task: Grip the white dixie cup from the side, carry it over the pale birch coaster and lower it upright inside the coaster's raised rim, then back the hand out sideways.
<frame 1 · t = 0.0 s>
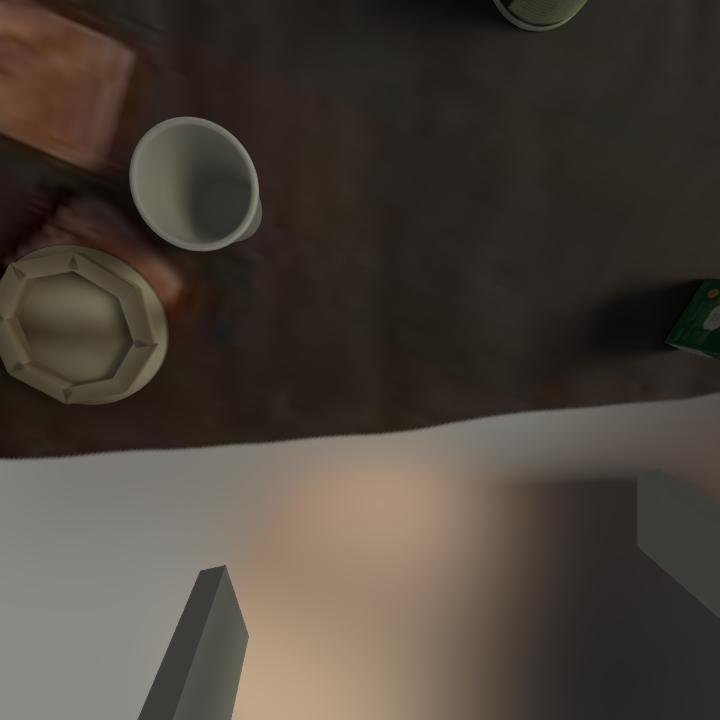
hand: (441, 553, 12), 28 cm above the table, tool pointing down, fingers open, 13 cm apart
coffee box: (688, 316, 41), on the table
dixie cup: (231, 210, 35), on the table
rimmed coaster: (87, 327, 36), on the table
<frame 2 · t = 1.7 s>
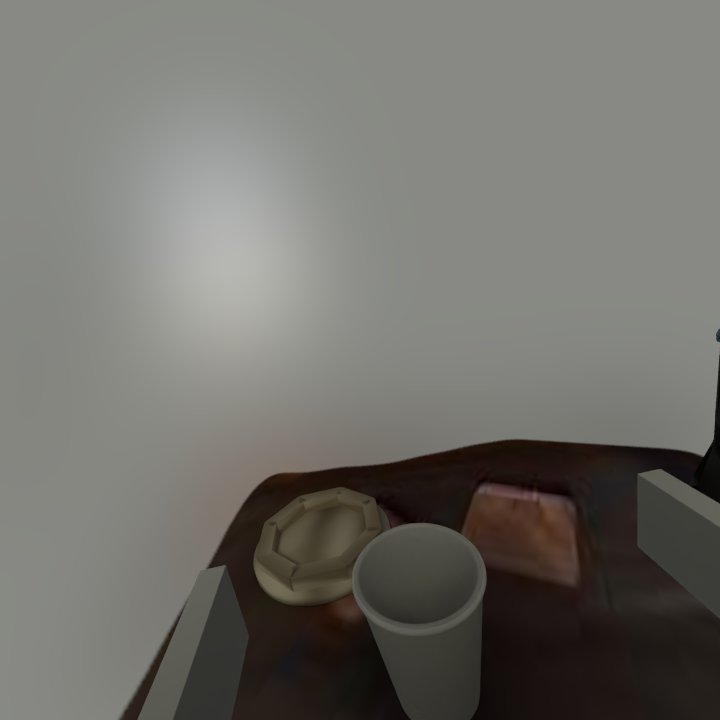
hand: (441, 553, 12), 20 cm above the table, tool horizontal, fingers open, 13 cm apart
dixie cup: (437, 686, 26), on the table
rimmed coaster: (324, 544, 41), on the table
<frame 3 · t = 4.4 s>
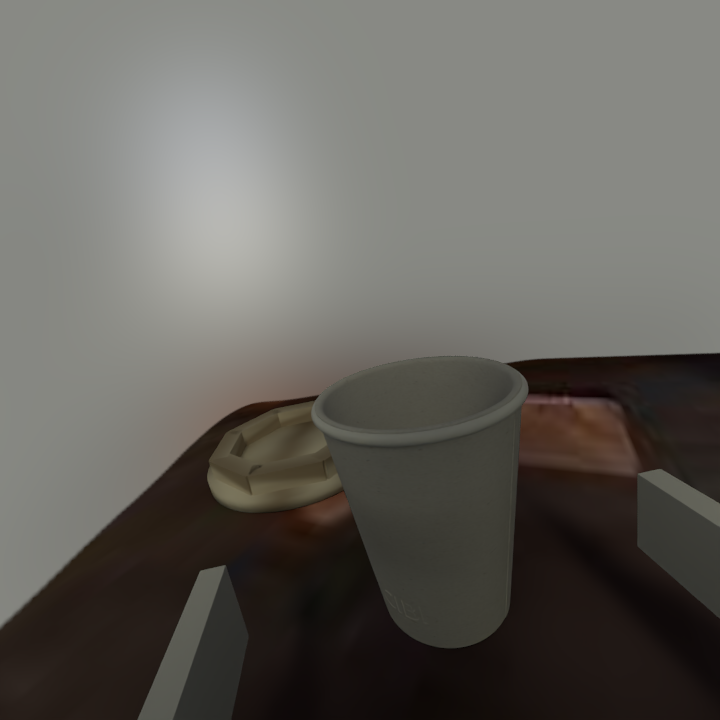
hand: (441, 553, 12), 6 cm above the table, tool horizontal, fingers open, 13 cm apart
dixie cup: (445, 590, 17), on the table
rimmed coaster: (300, 456, 32), on the table
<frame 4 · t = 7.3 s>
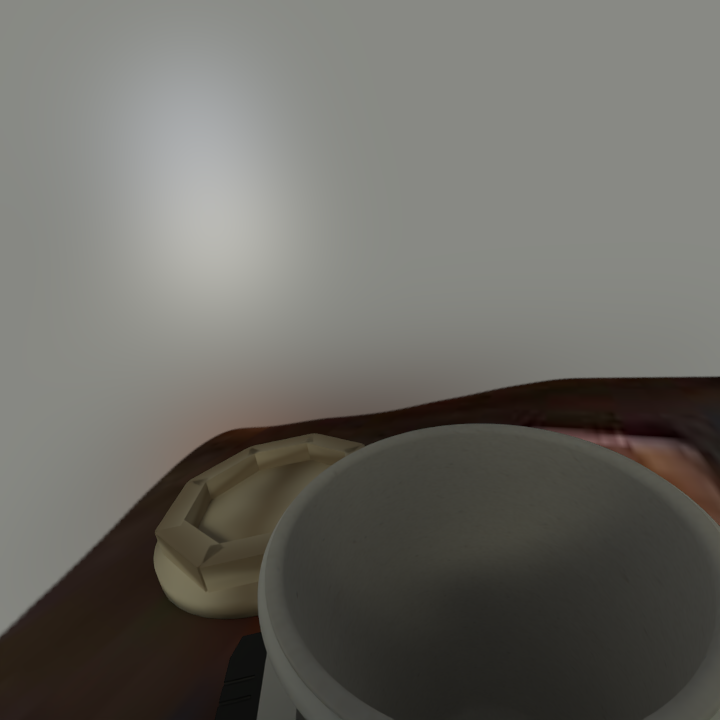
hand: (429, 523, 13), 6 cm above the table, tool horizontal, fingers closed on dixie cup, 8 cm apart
rimmed coaster: (280, 515, 25), on the table
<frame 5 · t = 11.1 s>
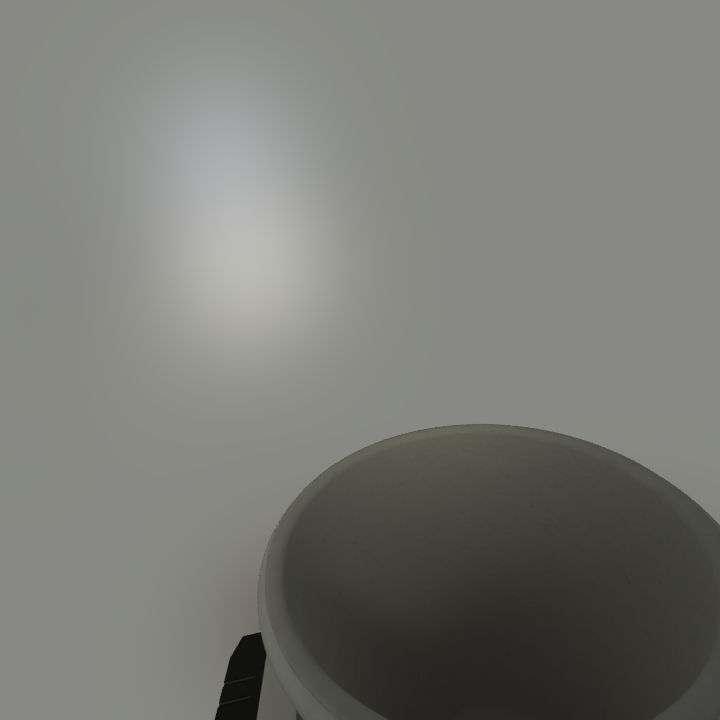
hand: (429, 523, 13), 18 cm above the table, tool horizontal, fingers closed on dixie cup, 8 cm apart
when the fingers open (8 cm above the table, at t = 15.0 s): dixie cup drops 1 cm, resting on rimmed coaster.
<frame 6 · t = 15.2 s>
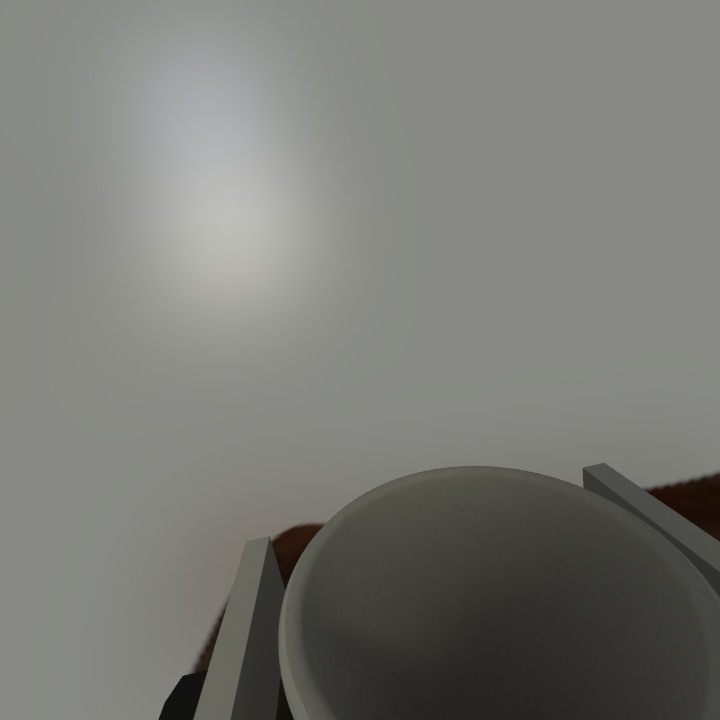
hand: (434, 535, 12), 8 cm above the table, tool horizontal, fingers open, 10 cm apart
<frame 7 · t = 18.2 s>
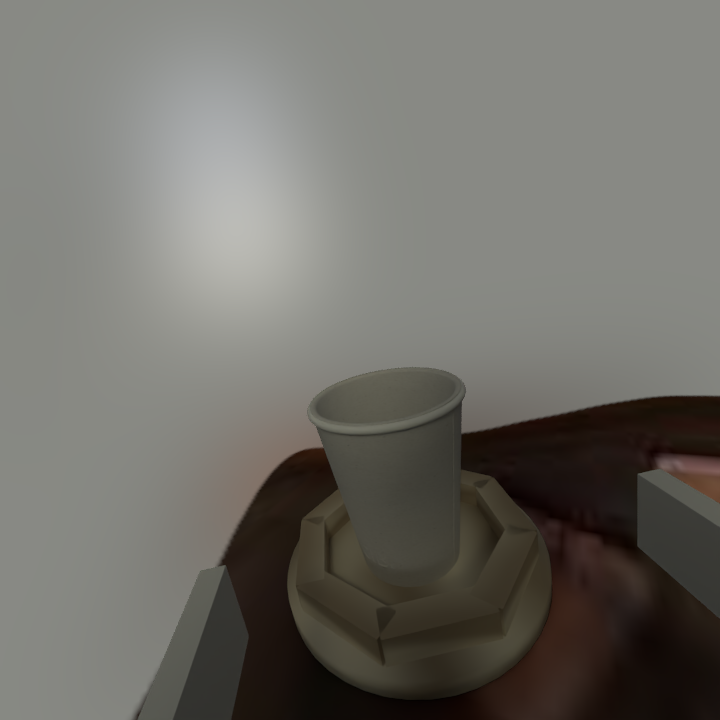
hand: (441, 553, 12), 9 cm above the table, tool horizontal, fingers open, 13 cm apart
dixie cup: (411, 549, 22), point 1 cm above the table, touching rimmed coaster
rimmed coaster: (413, 559, 23), on the table
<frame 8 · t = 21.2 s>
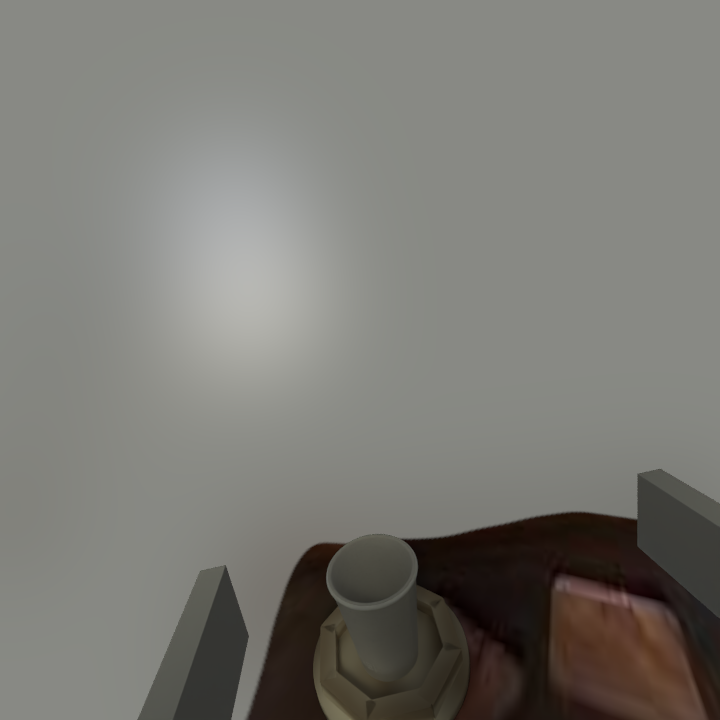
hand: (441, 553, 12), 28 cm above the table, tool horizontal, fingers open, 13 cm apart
dixie cup: (389, 651, 36), point 1 cm above the table, touching rimmed coaster
rimmed coaster: (390, 656, 36), on the table
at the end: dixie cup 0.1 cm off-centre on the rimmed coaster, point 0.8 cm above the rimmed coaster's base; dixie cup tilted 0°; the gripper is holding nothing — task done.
